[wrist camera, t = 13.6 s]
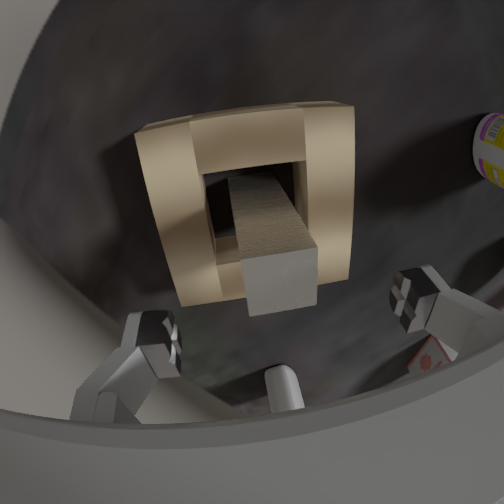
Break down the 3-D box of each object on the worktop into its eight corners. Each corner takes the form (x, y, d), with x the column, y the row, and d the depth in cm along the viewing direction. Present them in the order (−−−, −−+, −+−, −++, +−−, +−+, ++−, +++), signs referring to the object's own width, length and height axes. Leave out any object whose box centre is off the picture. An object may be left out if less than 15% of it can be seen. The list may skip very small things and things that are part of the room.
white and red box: (448, 331, 34) (483, 385, 26) (423, 364, 37) (451, 416, 29) (432, 332, 33) (469, 390, 25) (406, 366, 36) (435, 422, 28)
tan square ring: (147, 124, 17) (134, 133, 14) (331, 101, 18) (353, 106, 15) (184, 277, 24) (181, 306, 21) (332, 253, 24) (348, 279, 21)
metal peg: (227, 177, 20) (240, 259, 11) (271, 171, 20) (318, 247, 12) (233, 217, 21) (249, 316, 13) (274, 210, 22) (316, 304, 13)
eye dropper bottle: (305, 361, 32) (334, 458, 21) (292, 388, 34) (315, 475, 24) (266, 363, 31) (287, 466, 21) (258, 390, 34) (274, 481, 24)
